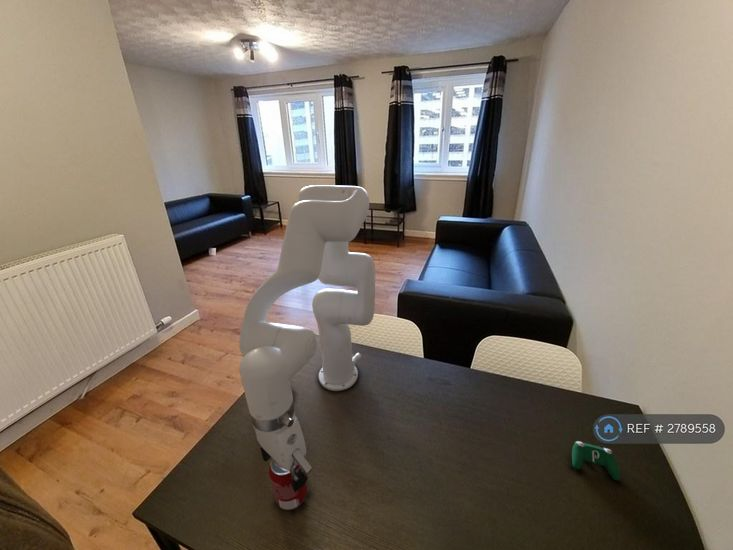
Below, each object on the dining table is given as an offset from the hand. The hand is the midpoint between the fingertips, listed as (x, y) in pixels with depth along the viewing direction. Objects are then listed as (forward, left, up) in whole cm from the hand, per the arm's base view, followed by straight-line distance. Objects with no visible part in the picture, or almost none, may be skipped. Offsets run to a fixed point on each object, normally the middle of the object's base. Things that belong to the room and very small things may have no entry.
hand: (284, 469), depth 62 cm
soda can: (0, 0, -10) cm, 10 cm away
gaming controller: (-48, +51, -10) cm, 71 cm away
